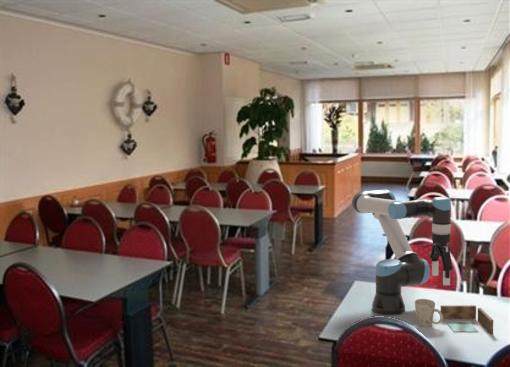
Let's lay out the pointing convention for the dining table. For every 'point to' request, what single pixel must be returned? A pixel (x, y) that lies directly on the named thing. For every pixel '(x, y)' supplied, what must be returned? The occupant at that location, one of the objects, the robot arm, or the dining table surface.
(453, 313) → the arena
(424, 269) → the robot arm
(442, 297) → the dining table surface
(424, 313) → the mug
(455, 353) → the dining table surface
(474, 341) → the dining table surface
